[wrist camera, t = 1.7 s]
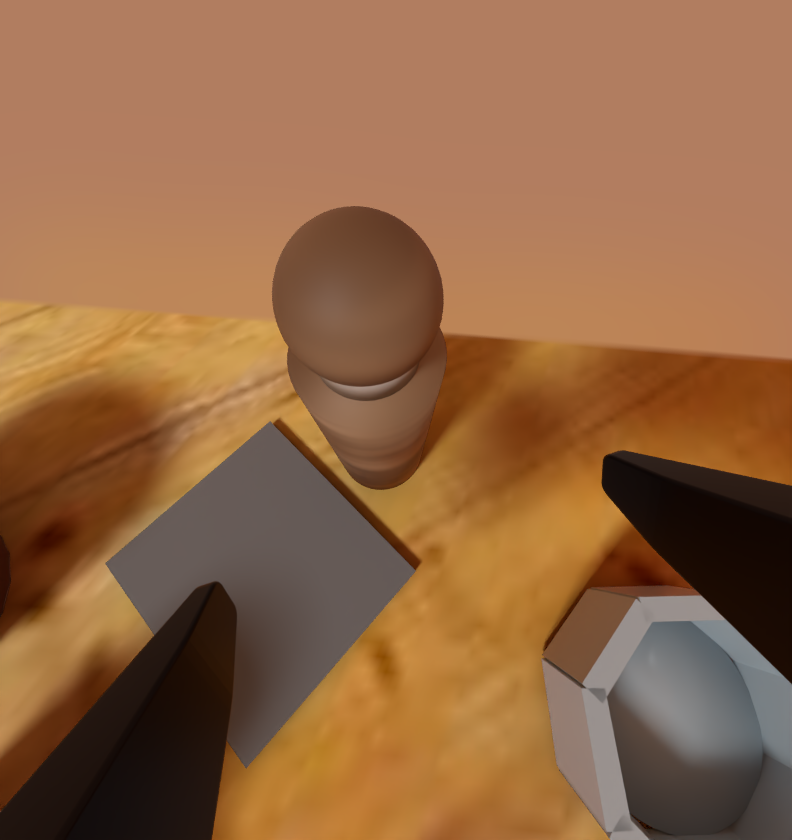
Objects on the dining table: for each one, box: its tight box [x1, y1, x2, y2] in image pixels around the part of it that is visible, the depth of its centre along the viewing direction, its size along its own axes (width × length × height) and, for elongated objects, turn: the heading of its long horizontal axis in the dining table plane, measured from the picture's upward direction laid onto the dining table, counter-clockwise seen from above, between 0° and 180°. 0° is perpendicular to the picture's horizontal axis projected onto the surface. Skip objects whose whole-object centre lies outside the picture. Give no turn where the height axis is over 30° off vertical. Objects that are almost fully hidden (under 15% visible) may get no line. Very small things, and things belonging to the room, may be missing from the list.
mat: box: [105, 422, 415, 768], centre depth 18 cm, size 12×11×1 cm
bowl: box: [542, 585, 792, 840], centre depth 14 cm, size 10×10×4 cm
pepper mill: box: [272, 206, 447, 490], centre depth 14 cm, size 5×5×15 cm
